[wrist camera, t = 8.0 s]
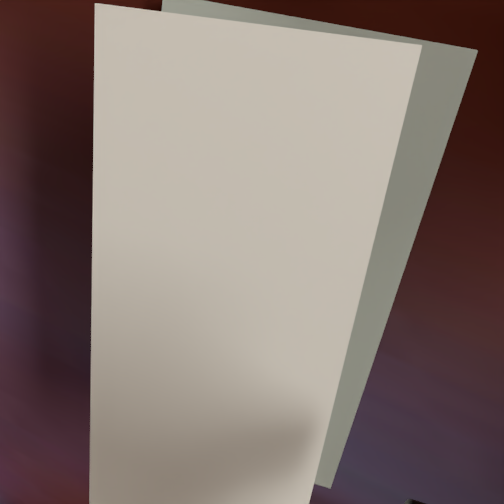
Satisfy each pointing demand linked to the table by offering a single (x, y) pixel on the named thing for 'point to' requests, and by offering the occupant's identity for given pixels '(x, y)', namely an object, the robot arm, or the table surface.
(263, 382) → the shelf board
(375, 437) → the table surface
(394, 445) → the table surface
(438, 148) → the peg stand
